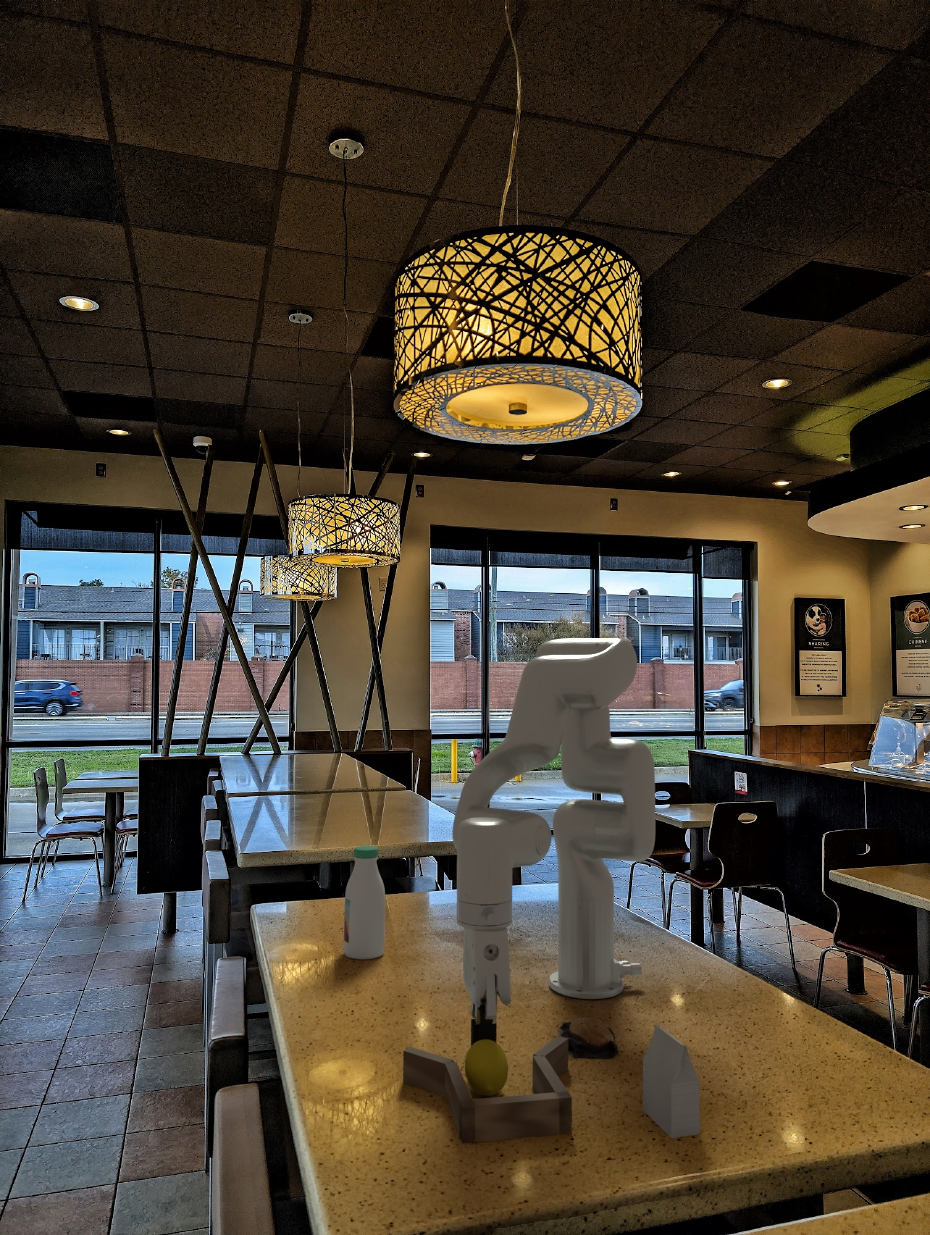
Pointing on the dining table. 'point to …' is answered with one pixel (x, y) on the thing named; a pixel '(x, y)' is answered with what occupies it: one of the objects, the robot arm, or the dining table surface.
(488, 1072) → the lemon
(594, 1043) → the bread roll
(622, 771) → the robot arm
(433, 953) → the dining table surface
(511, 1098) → the corral
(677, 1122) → the grey block
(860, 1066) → the dining table surface
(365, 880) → the milk bottle
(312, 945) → the dining table surface
